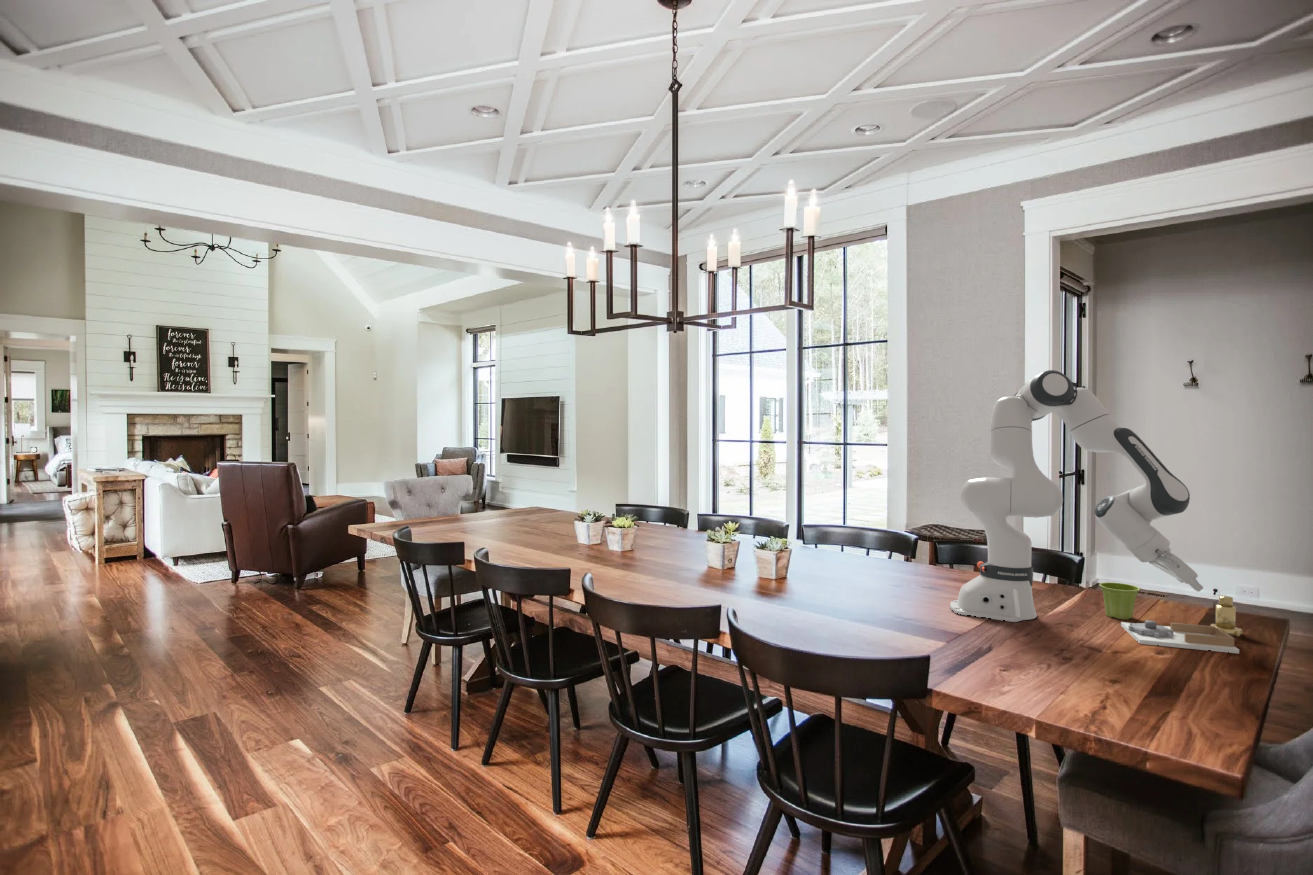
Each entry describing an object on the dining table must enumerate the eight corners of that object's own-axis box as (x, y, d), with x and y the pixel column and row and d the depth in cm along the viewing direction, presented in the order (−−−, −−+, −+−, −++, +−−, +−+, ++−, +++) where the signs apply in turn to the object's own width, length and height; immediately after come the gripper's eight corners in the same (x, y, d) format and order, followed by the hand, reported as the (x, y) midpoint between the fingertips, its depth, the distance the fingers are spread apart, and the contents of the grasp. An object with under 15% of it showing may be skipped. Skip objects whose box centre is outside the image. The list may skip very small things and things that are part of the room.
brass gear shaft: (1214, 634, 177) (1214, 598, 176) (1203, 627, 183) (1204, 592, 182) (1247, 637, 174) (1248, 601, 174) (1235, 630, 180) (1236, 595, 180)
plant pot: (1146, 622, 187) (1146, 591, 187) (1107, 620, 189) (1108, 589, 189) (1129, 613, 196) (1130, 583, 196) (1093, 611, 198) (1093, 581, 198)
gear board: (1138, 643, 169) (1139, 628, 169) (1120, 625, 184) (1120, 611, 184) (1239, 653, 162) (1239, 637, 162) (1211, 633, 177) (1211, 619, 177)
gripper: (1176, 546, 174) (1221, 586, 172) (1145, 532, 194) (1185, 568, 191) (1155, 562, 176) (1199, 603, 173) (1126, 547, 195) (1166, 583, 193)
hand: (1191, 584), depth 182 cm, fingers open, 8 cm apart
